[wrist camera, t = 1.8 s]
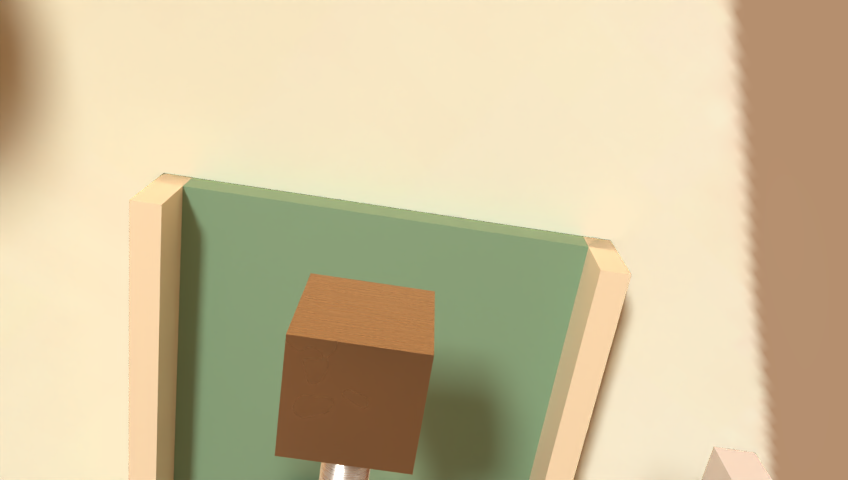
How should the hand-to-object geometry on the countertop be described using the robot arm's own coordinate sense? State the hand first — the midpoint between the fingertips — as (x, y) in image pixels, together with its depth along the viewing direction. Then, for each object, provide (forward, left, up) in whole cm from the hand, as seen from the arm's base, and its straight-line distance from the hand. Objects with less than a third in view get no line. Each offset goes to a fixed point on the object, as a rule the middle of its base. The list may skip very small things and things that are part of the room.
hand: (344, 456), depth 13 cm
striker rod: (-6, 0, -12) cm, 13 cm away
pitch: (-12, 0, -14) cm, 18 cm away
